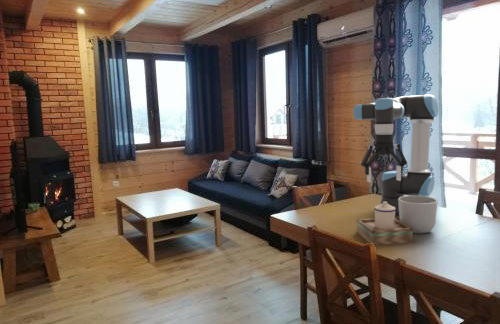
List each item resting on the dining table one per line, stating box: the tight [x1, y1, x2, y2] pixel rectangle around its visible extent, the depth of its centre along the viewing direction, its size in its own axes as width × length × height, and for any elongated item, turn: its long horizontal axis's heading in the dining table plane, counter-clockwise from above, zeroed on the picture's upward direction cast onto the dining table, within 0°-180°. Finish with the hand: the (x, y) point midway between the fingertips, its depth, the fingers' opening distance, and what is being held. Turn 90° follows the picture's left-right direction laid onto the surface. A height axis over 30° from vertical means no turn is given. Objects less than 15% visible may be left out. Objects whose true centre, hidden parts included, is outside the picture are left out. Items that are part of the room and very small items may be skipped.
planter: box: [398, 195, 439, 234], centre depth 178 cm, size 17×17×15 cm
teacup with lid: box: [373, 202, 396, 229], centre depth 170 cm, size 12×9×12 cm
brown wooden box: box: [356, 217, 413, 246], centre depth 171 cm, size 18×18×6 cm
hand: (383, 181), depth 168 cm, fingers open, 13 cm apart
